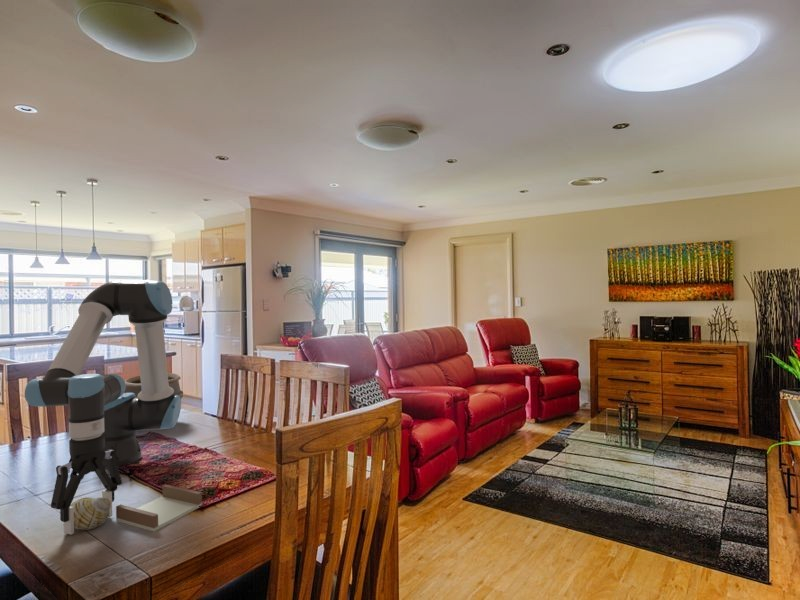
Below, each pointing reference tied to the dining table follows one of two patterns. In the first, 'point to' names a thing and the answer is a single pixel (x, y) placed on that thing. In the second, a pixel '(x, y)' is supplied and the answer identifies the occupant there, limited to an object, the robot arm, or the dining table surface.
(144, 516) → the cradle
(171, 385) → the planter
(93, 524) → the seashell
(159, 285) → the robot arm
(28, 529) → the dining table surface
